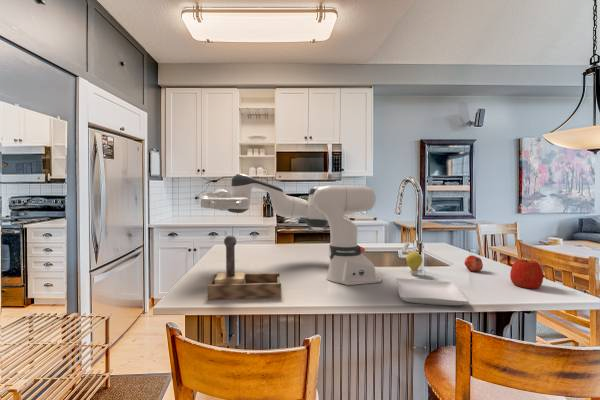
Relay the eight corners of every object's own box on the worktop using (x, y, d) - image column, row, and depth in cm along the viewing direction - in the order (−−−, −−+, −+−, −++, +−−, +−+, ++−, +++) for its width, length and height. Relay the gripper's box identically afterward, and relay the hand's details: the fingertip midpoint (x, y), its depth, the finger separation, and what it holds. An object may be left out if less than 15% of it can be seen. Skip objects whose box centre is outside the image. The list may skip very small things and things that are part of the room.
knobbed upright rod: (245, 285, 126) (245, 233, 125) (243, 292, 117) (243, 237, 116) (218, 285, 125) (217, 233, 124) (214, 293, 116) (214, 237, 115)
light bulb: (406, 276, 143) (406, 253, 143) (405, 272, 150) (405, 250, 149) (422, 277, 142) (423, 254, 141) (421, 273, 148) (421, 251, 148)
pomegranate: (461, 274, 155) (469, 265, 147) (460, 259, 159) (467, 250, 151) (478, 276, 154) (487, 268, 146) (477, 262, 158) (485, 253, 150)
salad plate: (469, 311, 106) (469, 300, 105) (399, 305, 110) (399, 295, 110) (452, 289, 126) (453, 281, 126) (394, 286, 131) (394, 277, 130)
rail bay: (279, 285, 130) (279, 272, 130) (280, 297, 116) (280, 283, 116) (214, 287, 128) (214, 274, 127) (207, 300, 114) (207, 285, 113)
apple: (541, 284, 132) (542, 258, 132) (544, 292, 123) (546, 263, 122) (509, 280, 138) (510, 254, 137) (510, 287, 128) (511, 260, 128)
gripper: (246, 207, 153) (251, 211, 140) (199, 207, 147) (201, 212, 134) (246, 193, 153) (252, 196, 140) (199, 193, 146) (201, 196, 133)
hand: (226, 204), depth 137 cm, fingers open, 8 cm apart
